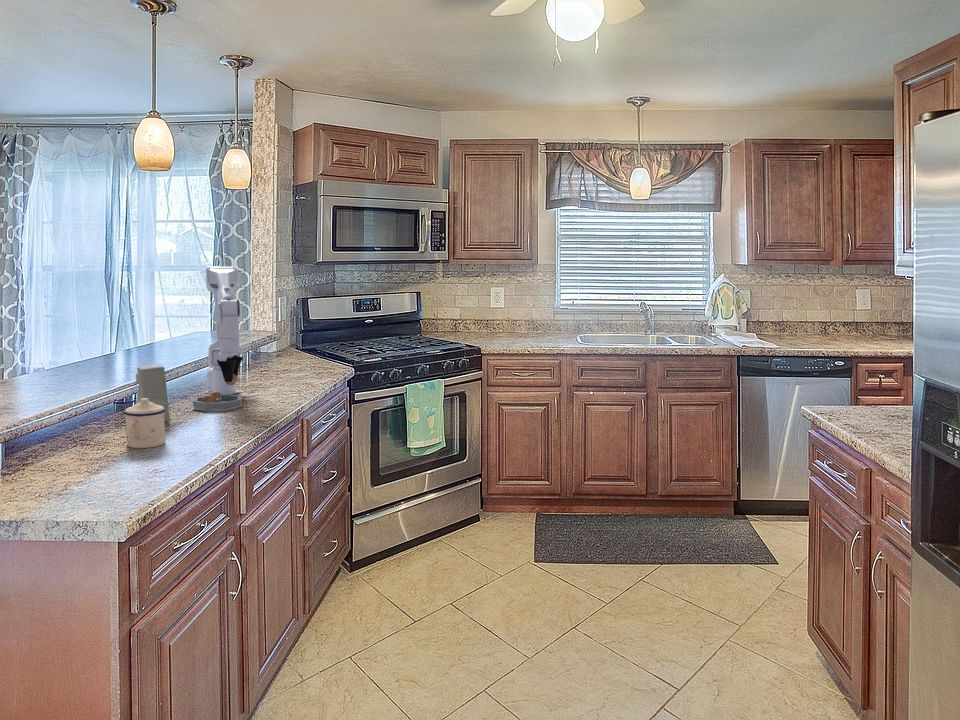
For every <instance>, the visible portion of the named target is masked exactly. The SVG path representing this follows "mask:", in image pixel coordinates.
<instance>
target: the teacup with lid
mask: <svg viewBox="0 0 960 720" xmlns="http://www.w3.org/2000/svg"><path fill="white" fill-rule="evenodd" d="M164 411H165V409H164V407H163V406H160V405H156V404H154V403H152V402H149V399H148V398H142V399H140V403H138V402H137V403H135V404H134V405H132V406H129V407H127V408H126V409H125V410H124V413H123V414H124V415H125V425H126V426H125V428H126V429H125V432H126V445H127V446H128V447H129V448H131V449H133V448H134V449H150V448H155V447H159V446H161V445H164V444H165V443H166V433H165V432H166V426H165V422H166V421H164Z"/></svg>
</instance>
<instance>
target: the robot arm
mask: <svg viewBox="0 0 960 720" xmlns="http://www.w3.org/2000/svg"><path fill="white" fill-rule="evenodd" d="M205 281H206V283H205V284H206V288H207V291H209V292H211V293H212V295H213V298H214V305H215V307H214V308H215V309H214V311H215V333H216V340H214V341H212V342H211V343H210V344H209V346H208V352H207V354H208V355H207V356H208V359H207V360H208V366H209V367H210V368H209V369H208V371H207V373H206V391H205V392H204V393H206V394H210V393H211V392H213V391H219V392H220V393H221V394H230V395H235V394H240V393H242V390H237V389H236V388H237V387H236V386H237V385H236V383H237V382H236V383H235V384H234V385H228V384H226V382H232V380H233V374H235V375H236V376H237V377H238V375H239V370H240V366H241V364H242V362H243V360H244V357H243V356H242V355H243V354H244V351H241V348H240V321H239V319H240V318H241V317H240V316H241V302H240V299H239V298H237V295H236V289H237V284H238V268H237V267H236V266H235V265H233V266H222V265H221V266H219V265H218V266H217V265H216V266H214V265H213V266H211V265H207V266H206V267H205Z"/></svg>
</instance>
